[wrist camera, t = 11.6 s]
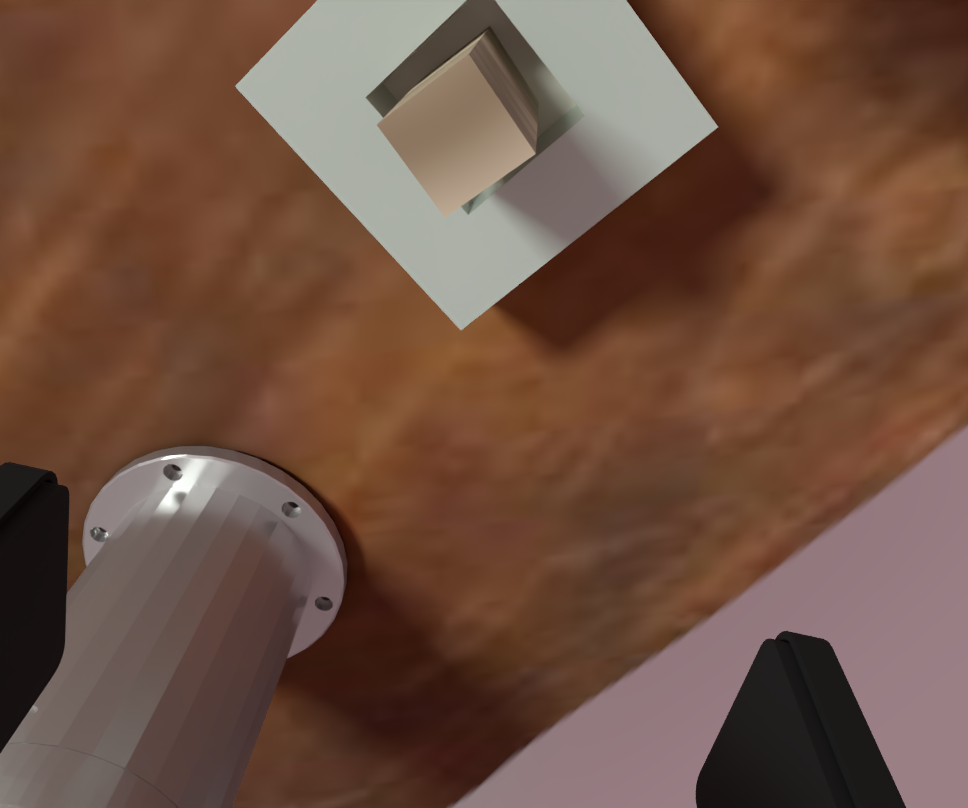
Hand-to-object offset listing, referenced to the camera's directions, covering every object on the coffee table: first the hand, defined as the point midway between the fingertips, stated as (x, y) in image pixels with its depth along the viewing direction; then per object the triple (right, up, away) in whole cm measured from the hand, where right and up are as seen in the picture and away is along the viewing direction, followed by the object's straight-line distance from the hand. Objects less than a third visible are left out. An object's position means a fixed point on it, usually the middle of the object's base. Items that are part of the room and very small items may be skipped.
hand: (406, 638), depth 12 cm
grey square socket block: (+1, +15, +20) cm, 25 cm away
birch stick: (+1, +14, +19) cm, 24 cm away
